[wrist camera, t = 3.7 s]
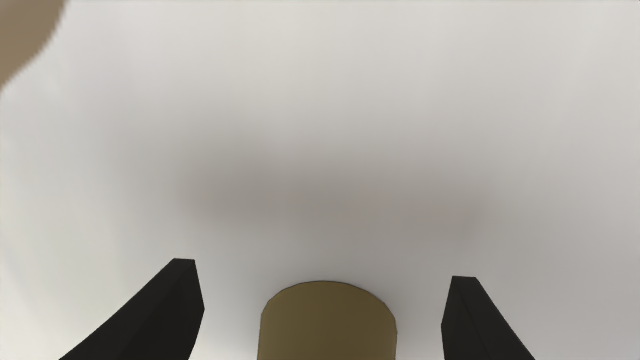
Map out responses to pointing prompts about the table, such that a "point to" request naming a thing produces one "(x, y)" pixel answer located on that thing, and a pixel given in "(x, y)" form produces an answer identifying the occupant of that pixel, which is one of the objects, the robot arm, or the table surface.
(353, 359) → the cork
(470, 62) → the table surface
